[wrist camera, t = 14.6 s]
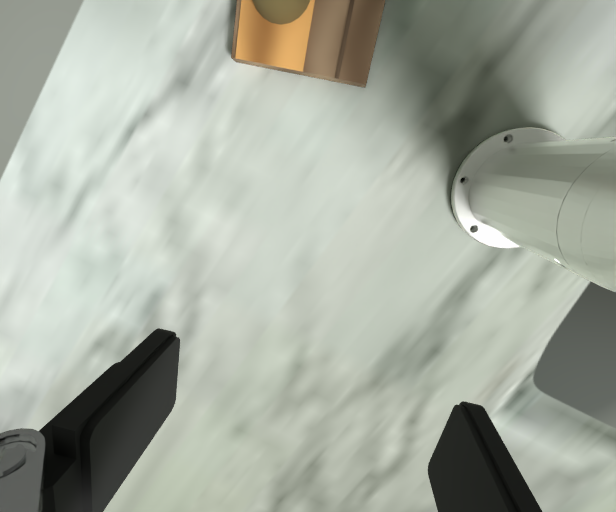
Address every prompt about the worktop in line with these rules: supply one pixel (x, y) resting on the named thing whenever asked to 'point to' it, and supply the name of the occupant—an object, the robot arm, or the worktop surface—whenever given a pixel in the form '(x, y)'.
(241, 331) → the worktop surface
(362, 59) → the board
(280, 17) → the cork
